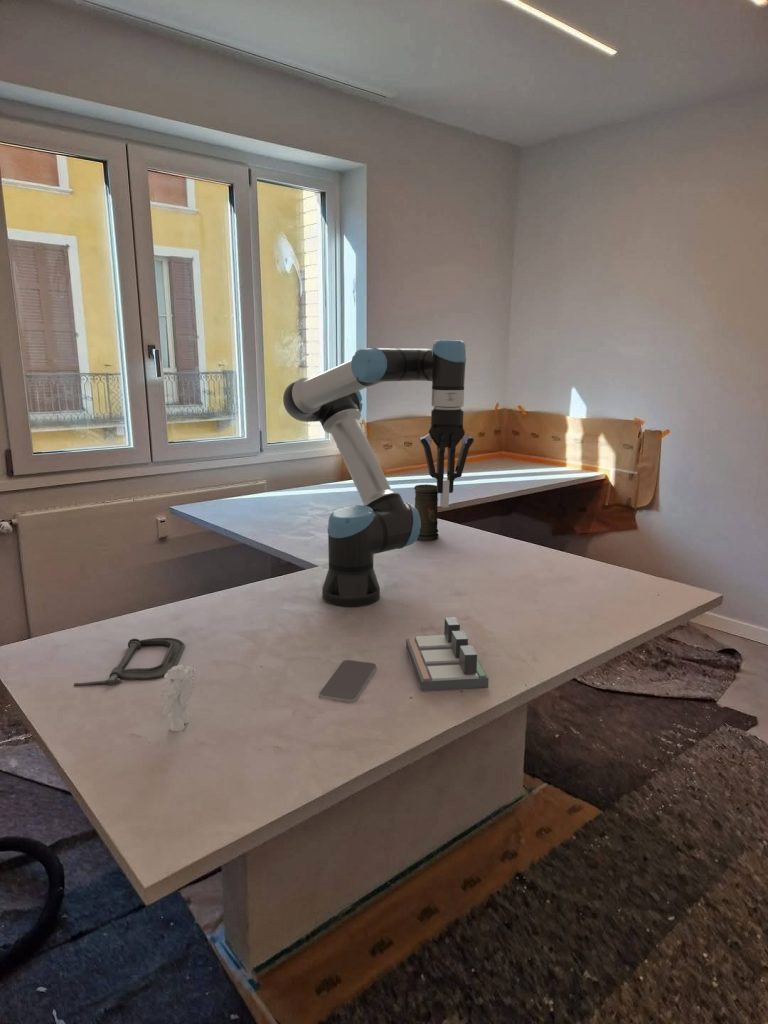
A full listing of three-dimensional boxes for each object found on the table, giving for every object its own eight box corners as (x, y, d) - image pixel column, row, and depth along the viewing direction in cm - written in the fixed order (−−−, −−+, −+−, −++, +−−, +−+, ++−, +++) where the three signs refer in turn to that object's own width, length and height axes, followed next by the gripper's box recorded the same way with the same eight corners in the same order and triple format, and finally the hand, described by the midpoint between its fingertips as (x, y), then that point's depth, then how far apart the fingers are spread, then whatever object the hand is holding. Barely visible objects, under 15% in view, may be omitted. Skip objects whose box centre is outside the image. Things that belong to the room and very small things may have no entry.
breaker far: (448, 642, 139) (448, 625, 138) (444, 634, 143) (444, 617, 142) (459, 642, 139) (459, 624, 138) (454, 634, 143) (455, 617, 142)
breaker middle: (455, 657, 132) (456, 639, 131) (451, 648, 136) (451, 631, 135) (467, 656, 132) (468, 638, 131) (462, 648, 136) (463, 630, 135)
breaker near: (464, 674, 125) (464, 655, 124) (459, 664, 129) (459, 645, 128) (476, 673, 126) (477, 654, 125) (471, 663, 129) (471, 645, 128)
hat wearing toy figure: (178, 740, 108) (173, 674, 105) (156, 737, 109) (150, 672, 106) (203, 712, 117) (199, 650, 114) (183, 709, 117) (178, 648, 114)
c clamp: (163, 690, 125) (162, 677, 124) (73, 689, 125) (71, 676, 125) (193, 644, 145) (193, 632, 144) (116, 643, 145) (115, 631, 144)
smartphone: (316, 695, 122) (343, 659, 136) (317, 699, 122) (343, 663, 136) (354, 701, 120) (377, 663, 134) (354, 705, 120) (377, 667, 134)
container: (408, 539, 224) (409, 487, 220) (417, 532, 232) (418, 483, 228) (433, 542, 221) (435, 490, 217) (441, 535, 229) (443, 485, 225)
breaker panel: (421, 691, 124) (422, 679, 124) (405, 647, 143) (406, 636, 142) (488, 687, 126) (488, 675, 125) (463, 644, 144) (464, 633, 144)
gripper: (423, 409, 148) (420, 510, 154) (478, 409, 150) (474, 509, 156) (417, 406, 156) (415, 503, 161) (470, 406, 157) (466, 501, 163)
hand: (444, 505), depth 159 cm, fingers closed
